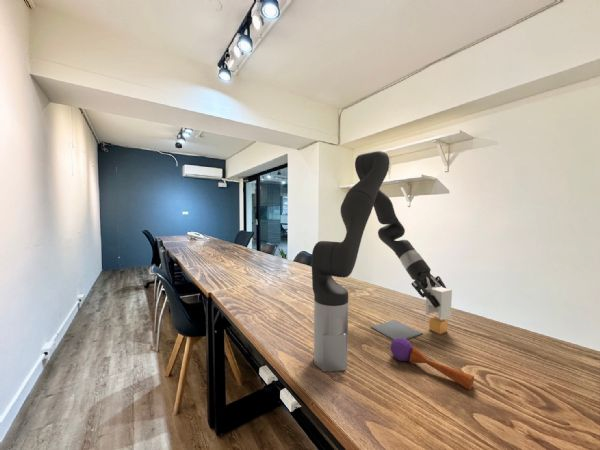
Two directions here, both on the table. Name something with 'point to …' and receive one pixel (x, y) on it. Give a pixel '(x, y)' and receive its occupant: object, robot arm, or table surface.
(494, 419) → the table surface
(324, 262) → the robot arm
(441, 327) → the block
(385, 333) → the mat
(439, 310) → the cover
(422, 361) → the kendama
